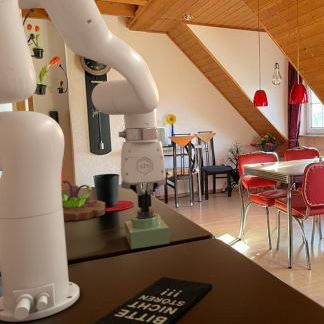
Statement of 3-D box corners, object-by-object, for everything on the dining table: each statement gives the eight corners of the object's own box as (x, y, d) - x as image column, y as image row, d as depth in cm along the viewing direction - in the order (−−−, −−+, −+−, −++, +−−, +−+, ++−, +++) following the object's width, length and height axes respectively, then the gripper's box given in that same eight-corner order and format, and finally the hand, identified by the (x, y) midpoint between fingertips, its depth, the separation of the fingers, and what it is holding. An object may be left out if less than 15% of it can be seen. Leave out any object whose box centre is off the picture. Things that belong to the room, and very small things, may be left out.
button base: (169, 243, 94) (168, 219, 93) (131, 249, 90) (129, 224, 89) (160, 231, 104) (159, 209, 103) (125, 236, 100) (124, 213, 99)
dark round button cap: (155, 219, 95) (155, 210, 95) (138, 221, 93) (138, 212, 93) (152, 215, 99) (152, 207, 98) (136, 217, 97) (135, 209, 97)
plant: (44, 210, 131) (41, 177, 130) (105, 204, 138) (103, 173, 136) (33, 225, 113) (29, 187, 111) (104, 218, 119) (102, 182, 118)
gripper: (109, 137, 87) (114, 217, 89) (175, 135, 93) (178, 209, 95) (107, 136, 94) (111, 210, 96) (168, 134, 100) (171, 204, 102)
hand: (144, 209), depth 96 cm, fingers closed
